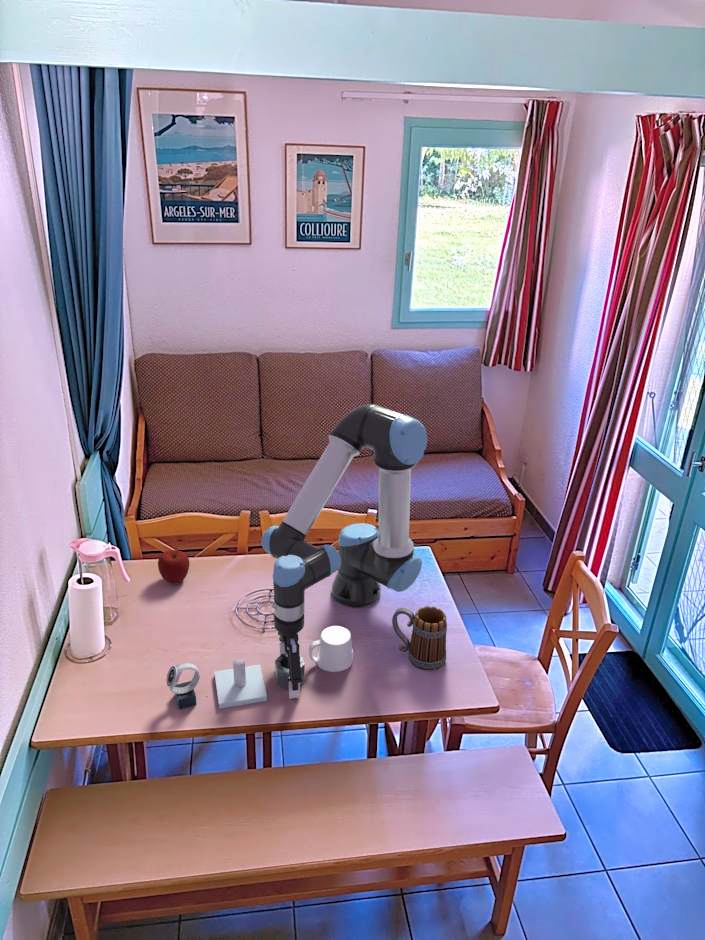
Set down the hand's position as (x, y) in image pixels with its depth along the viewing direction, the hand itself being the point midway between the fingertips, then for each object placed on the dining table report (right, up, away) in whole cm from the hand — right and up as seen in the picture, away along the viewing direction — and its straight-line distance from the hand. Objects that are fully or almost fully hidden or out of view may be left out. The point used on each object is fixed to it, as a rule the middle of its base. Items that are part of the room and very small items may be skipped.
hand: (289, 679), depth 191 cm
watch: (-26, -3, -7) cm, 27 cm away
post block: (-12, -1, -3) cm, 13 cm away
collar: (0, 0, 0) cm, 0 cm away
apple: (-39, +20, +39) cm, 59 cm away
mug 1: (+11, +2, +7) cm, 13 cm away
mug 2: (+35, +3, +10) cm, 36 cm away
